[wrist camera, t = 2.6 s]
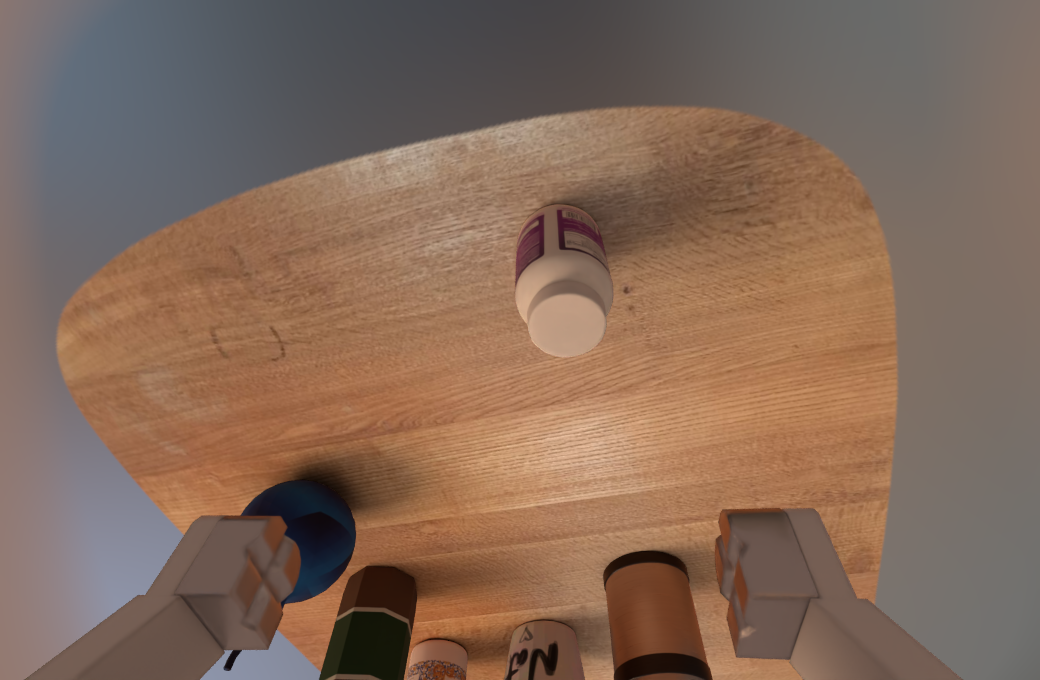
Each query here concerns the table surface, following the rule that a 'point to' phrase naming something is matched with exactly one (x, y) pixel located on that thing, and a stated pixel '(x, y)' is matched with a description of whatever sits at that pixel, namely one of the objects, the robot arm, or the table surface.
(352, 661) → the beer bottle
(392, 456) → the table surface
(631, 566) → the copper canister
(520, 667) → the mug
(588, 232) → the pill bottle
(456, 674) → the bath foam
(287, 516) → the bomb
